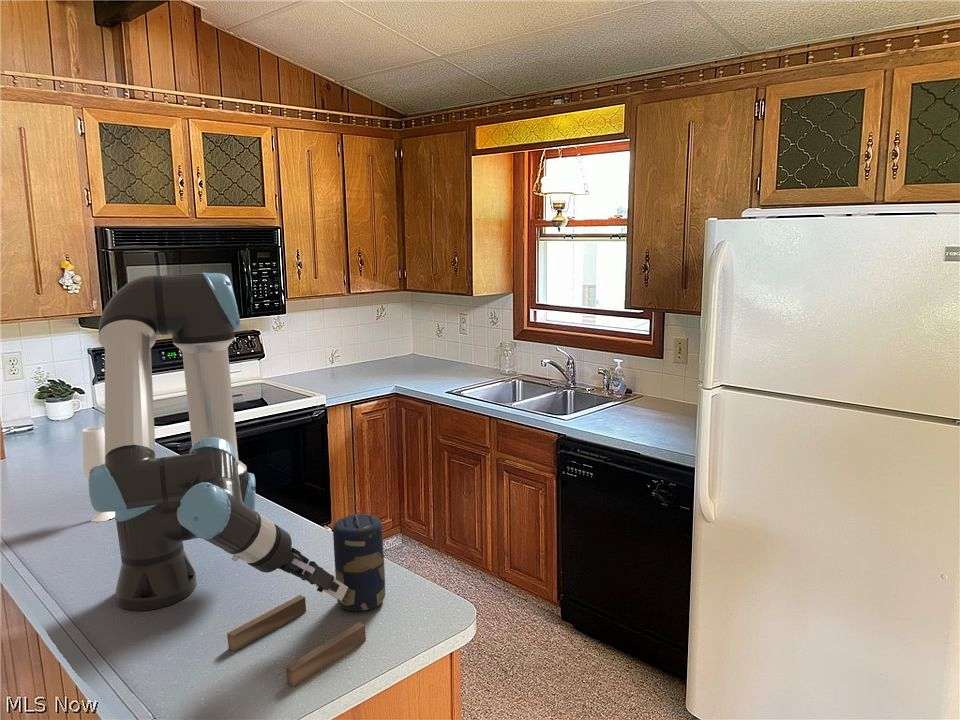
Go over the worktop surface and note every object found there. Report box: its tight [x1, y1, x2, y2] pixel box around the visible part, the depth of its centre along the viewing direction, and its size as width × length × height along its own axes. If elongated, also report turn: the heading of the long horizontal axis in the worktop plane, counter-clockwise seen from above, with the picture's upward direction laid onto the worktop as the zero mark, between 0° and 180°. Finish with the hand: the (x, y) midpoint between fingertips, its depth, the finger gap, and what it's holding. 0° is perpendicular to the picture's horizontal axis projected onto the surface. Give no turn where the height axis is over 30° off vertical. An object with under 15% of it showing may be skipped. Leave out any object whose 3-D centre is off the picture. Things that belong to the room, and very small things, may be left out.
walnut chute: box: [226, 594, 367, 688], centre depth 125 cm, size 18×16×3 cm
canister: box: [332, 513, 386, 612], centre depth 137 cm, size 10×10×18 cm
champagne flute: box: [82, 425, 115, 522], centre depth 181 cm, size 7×7×24 cm
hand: (342, 592), depth 133 cm, fingers closed
